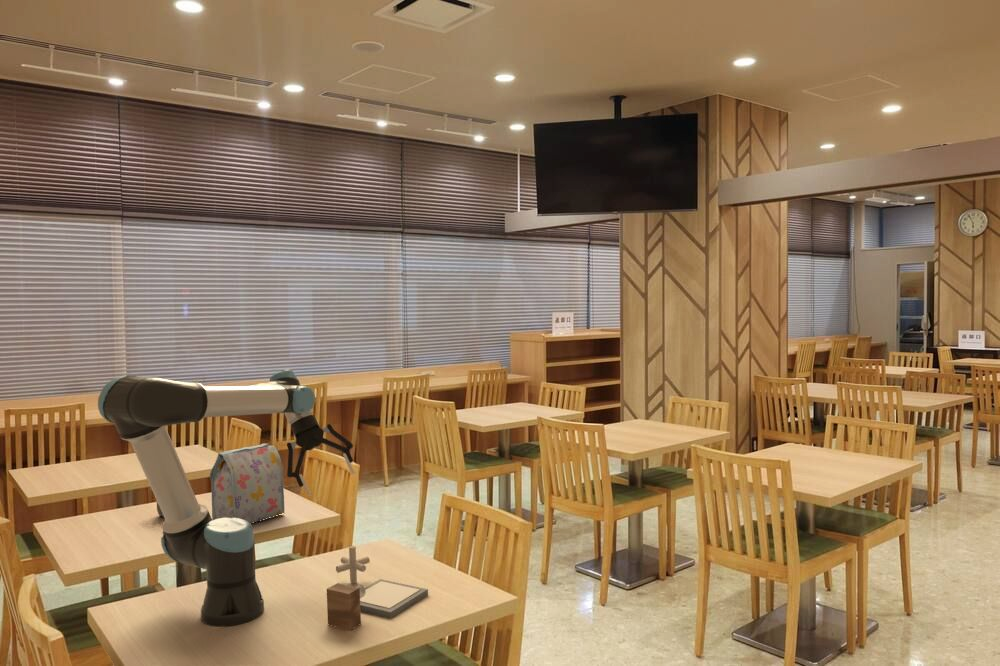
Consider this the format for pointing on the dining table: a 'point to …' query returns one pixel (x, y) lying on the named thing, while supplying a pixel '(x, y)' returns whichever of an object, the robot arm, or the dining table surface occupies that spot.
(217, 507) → the lunch bag
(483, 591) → the dining table surface
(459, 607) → the dining table surface
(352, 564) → the pipe connector
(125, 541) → the dining table surface
